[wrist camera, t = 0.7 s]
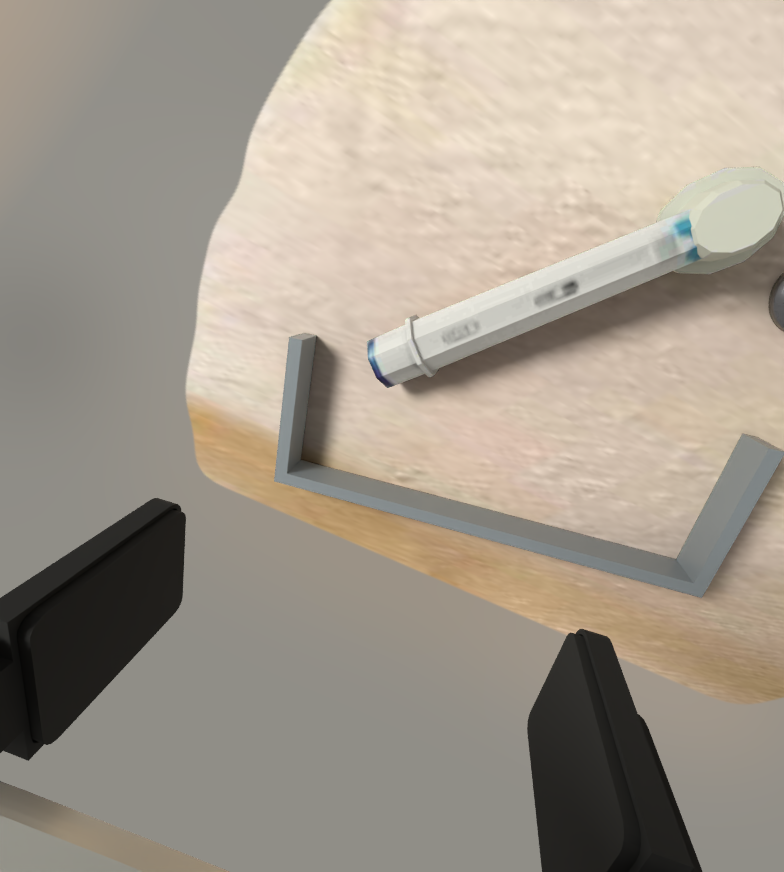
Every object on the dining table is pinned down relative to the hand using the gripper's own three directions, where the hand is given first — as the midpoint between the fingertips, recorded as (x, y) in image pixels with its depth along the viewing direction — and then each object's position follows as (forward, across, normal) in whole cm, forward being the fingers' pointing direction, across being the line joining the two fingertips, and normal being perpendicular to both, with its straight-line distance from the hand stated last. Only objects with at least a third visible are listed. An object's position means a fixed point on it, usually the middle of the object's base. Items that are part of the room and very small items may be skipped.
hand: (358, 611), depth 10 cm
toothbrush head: (+26, -5, -8) cm, 27 cm away
